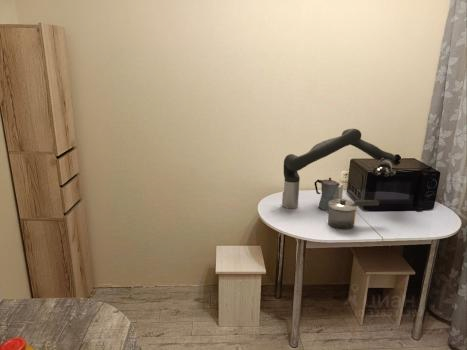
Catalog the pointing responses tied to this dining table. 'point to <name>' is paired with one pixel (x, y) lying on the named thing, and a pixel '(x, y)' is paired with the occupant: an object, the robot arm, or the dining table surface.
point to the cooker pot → (341, 219)
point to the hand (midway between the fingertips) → (381, 174)
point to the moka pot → (326, 192)
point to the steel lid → (350, 204)
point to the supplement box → (338, 192)
